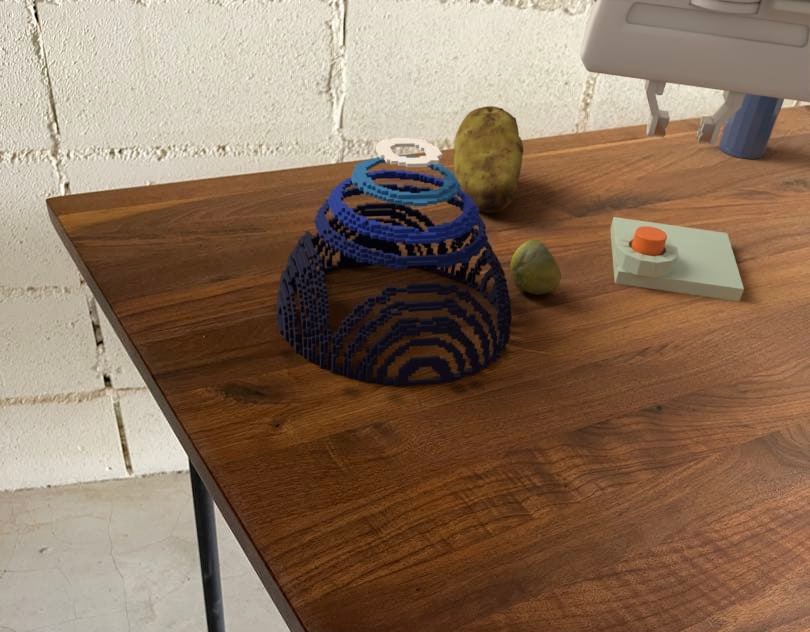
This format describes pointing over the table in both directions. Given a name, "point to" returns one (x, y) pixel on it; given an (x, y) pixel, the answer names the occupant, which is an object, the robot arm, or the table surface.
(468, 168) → the potato
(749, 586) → the table surface
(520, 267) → the green mango
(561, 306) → the table surface
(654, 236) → the tare button
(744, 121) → the cup
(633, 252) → the scale
